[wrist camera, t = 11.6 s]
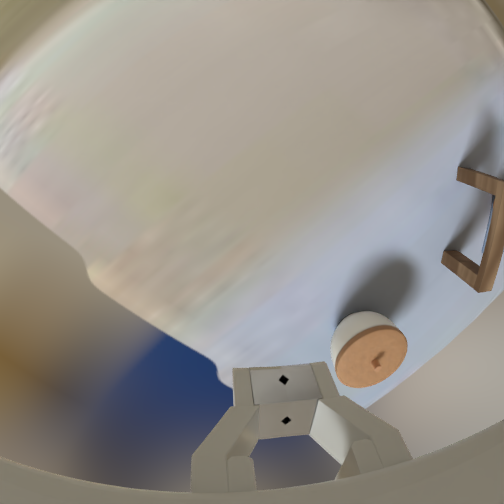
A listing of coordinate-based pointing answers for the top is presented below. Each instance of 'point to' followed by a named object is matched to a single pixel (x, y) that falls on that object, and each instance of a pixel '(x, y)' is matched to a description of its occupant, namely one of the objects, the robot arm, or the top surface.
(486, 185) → the bridge
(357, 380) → the lidded jar
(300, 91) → the top surface
